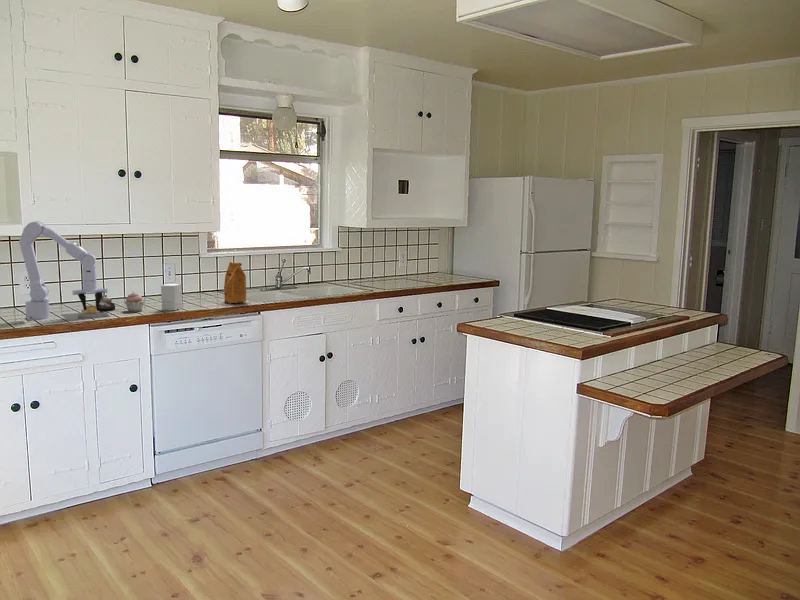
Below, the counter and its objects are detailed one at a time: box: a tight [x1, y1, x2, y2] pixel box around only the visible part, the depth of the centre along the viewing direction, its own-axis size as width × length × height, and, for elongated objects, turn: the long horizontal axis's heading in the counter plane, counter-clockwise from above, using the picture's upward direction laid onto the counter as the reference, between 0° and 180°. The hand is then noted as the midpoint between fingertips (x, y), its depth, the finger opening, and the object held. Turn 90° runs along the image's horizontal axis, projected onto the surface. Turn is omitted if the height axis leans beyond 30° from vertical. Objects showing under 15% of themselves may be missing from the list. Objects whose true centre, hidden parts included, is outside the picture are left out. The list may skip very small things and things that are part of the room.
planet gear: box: [81, 305, 101, 314], centre depth 313 cm, size 7×7×4 cm
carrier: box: [61, 308, 111, 321], centre depth 314 cm, size 18×17×4 cm
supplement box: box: [160, 283, 183, 311], centre depth 340 cm, size 7×7×13 cm
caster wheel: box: [97, 294, 116, 312], centre depth 331 cm, size 7×11×10 cm
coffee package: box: [223, 260, 247, 304], centre depth 366 cm, size 10×12×22 cm
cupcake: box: [124, 290, 145, 313], centre depth 334 cm, size 9×9×10 cm
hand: (91, 309), depth 312 cm, fingers closed on planet gear, 4 cm apart
